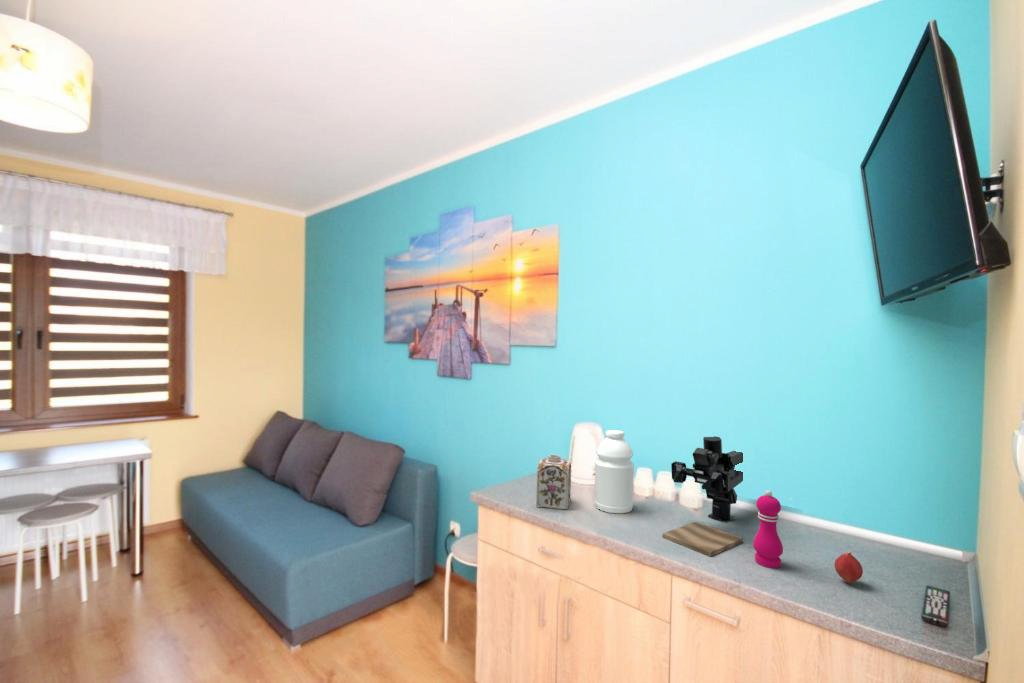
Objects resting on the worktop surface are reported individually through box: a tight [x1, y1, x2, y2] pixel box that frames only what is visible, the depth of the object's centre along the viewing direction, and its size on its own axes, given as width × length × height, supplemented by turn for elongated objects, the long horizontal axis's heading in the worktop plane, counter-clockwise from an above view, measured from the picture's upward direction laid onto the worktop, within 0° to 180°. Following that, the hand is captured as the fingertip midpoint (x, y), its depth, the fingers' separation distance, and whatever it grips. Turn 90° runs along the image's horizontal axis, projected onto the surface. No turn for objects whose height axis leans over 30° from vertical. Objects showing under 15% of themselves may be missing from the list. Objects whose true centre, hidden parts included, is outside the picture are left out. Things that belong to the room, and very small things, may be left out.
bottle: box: [594, 429, 635, 514], centre depth 170 cm, size 14×14×28 cm
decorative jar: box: [536, 454, 572, 510], centre depth 173 cm, size 12×12×18 cm
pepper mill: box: [752, 489, 784, 569], centre depth 128 cm, size 7×7×20 cm
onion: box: [834, 551, 864, 584], centre depth 118 cm, size 6×6×8 cm
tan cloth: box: [662, 521, 744, 558], centre depth 143 cm, size 18×16×1 cm
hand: (687, 483), depth 145 cm, fingers open, 9 cm apart
